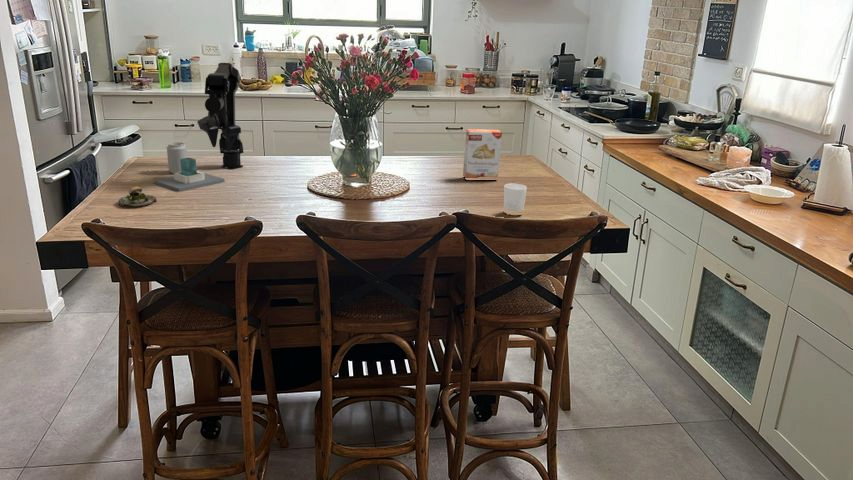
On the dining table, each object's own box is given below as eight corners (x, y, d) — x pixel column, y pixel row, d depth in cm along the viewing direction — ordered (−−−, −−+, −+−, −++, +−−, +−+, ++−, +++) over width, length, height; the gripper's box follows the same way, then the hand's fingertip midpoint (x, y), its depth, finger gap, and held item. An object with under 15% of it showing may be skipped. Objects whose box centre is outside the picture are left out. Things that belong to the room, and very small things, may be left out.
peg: (190, 177, 256) (189, 157, 254) (197, 179, 254) (195, 159, 251) (181, 179, 253) (180, 159, 250) (188, 181, 251) (186, 160, 248)
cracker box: (465, 181, 274) (468, 131, 267) (462, 177, 280) (465, 128, 273) (498, 181, 277) (502, 131, 269) (494, 177, 282) (498, 129, 275)
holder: (199, 174, 266) (198, 165, 265) (224, 181, 257) (224, 172, 256) (154, 183, 251) (153, 174, 250) (179, 191, 242) (178, 182, 241)
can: (191, 170, 271) (189, 141, 267) (183, 175, 264) (181, 145, 260) (174, 169, 271) (171, 140, 267) (165, 174, 264) (162, 144, 260)
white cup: (500, 209, 238) (502, 183, 235) (521, 210, 239) (524, 183, 236) (504, 216, 231) (506, 189, 228) (526, 217, 232) (529, 189, 228)
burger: (118, 210, 220) (116, 188, 217) (119, 200, 230) (116, 179, 227) (157, 207, 224) (155, 186, 222) (156, 198, 234) (154, 177, 232)
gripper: (185, 107, 250) (188, 147, 255) (215, 114, 239) (218, 156, 244) (211, 104, 258) (213, 143, 263) (240, 111, 247) (243, 152, 253)
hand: (221, 149), depth 256 cm, fingers open, 9 cm apart
